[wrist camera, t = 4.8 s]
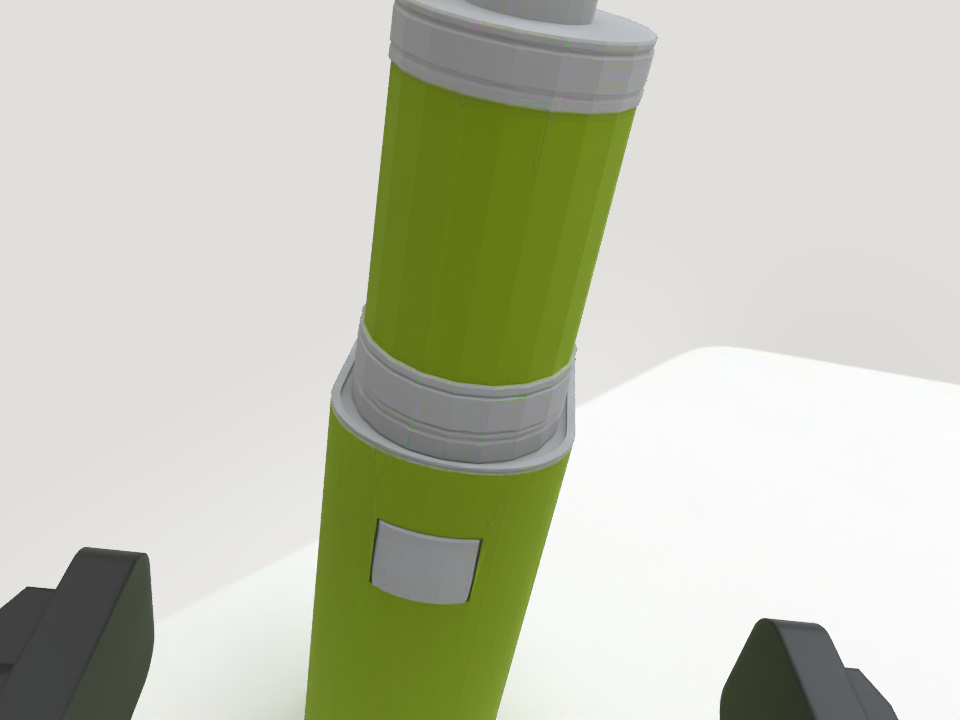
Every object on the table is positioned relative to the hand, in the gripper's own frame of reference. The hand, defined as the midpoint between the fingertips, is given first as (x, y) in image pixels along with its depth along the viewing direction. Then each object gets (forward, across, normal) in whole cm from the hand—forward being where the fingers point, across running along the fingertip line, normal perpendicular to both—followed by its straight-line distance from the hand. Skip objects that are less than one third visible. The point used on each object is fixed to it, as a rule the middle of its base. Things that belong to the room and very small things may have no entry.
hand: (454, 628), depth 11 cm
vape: (+4, 0, +11) cm, 12 cm away
